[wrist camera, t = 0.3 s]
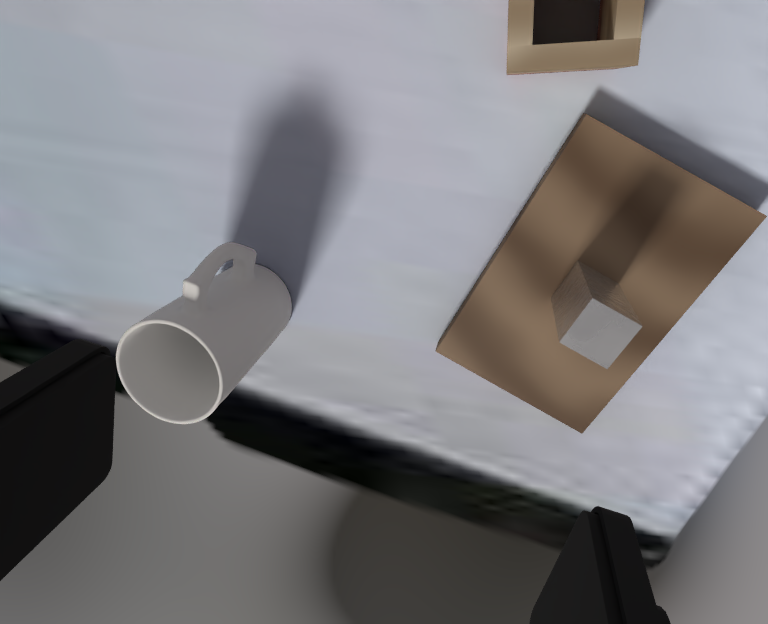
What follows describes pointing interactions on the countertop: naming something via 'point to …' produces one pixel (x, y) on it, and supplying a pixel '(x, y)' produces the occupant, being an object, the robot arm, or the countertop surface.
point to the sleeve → (608, 52)
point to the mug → (204, 337)
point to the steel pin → (593, 315)
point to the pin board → (602, 253)
